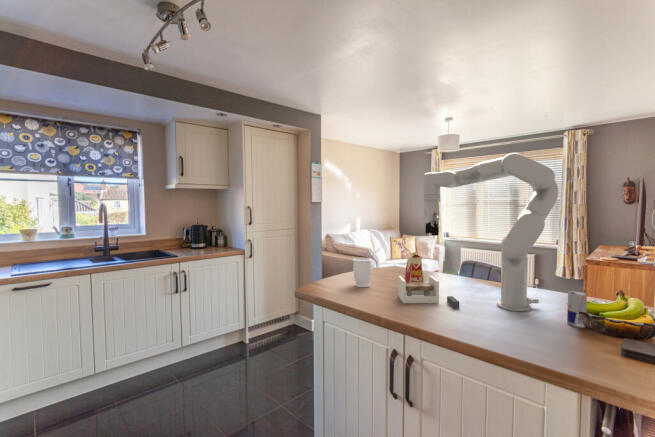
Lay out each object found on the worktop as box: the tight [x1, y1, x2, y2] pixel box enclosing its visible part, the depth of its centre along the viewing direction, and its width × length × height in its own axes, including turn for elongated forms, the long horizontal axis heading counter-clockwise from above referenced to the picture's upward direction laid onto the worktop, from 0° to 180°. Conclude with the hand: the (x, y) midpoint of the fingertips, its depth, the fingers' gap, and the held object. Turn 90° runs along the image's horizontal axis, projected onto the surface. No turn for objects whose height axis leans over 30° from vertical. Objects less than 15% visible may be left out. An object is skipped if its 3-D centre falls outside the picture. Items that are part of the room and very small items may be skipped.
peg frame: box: [397, 275, 440, 304], centre depth 145 cm, size 16×11×10 cm
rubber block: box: [446, 295, 460, 310], centre depth 136 cm, size 2×8×3 cm, turn 178°
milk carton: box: [404, 251, 425, 283], centre depth 164 cm, size 9×9×20 cm
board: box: [406, 282, 433, 291], centre depth 145 cm, size 12×6×2 cm, turn 88°
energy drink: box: [566, 290, 588, 329], centre depth 112 cm, size 5×5×12 cm
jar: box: [352, 256, 373, 288], centre depth 171 cm, size 11×10×15 cm
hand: (431, 234), depth 149 cm, fingers open, 9 cm apart
